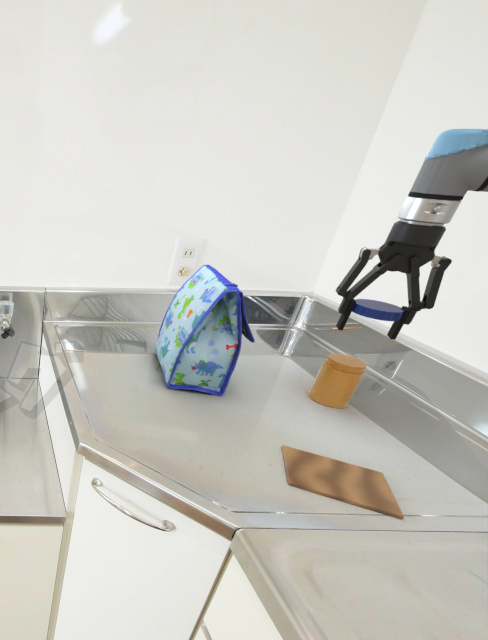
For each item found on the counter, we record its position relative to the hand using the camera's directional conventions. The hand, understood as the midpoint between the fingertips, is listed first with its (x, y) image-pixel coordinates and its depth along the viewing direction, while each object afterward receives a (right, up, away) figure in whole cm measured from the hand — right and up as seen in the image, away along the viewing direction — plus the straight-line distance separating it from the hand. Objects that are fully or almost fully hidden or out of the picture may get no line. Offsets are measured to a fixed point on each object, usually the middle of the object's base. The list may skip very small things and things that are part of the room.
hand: (364, 332), depth 91 cm
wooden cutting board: (-19, -28, -15) cm, 37 cm away
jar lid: (0, +5, -3) cm, 6 cm away
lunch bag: (-29, -9, +19) cm, 36 cm away
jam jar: (0, -15, +10) cm, 18 cm away
